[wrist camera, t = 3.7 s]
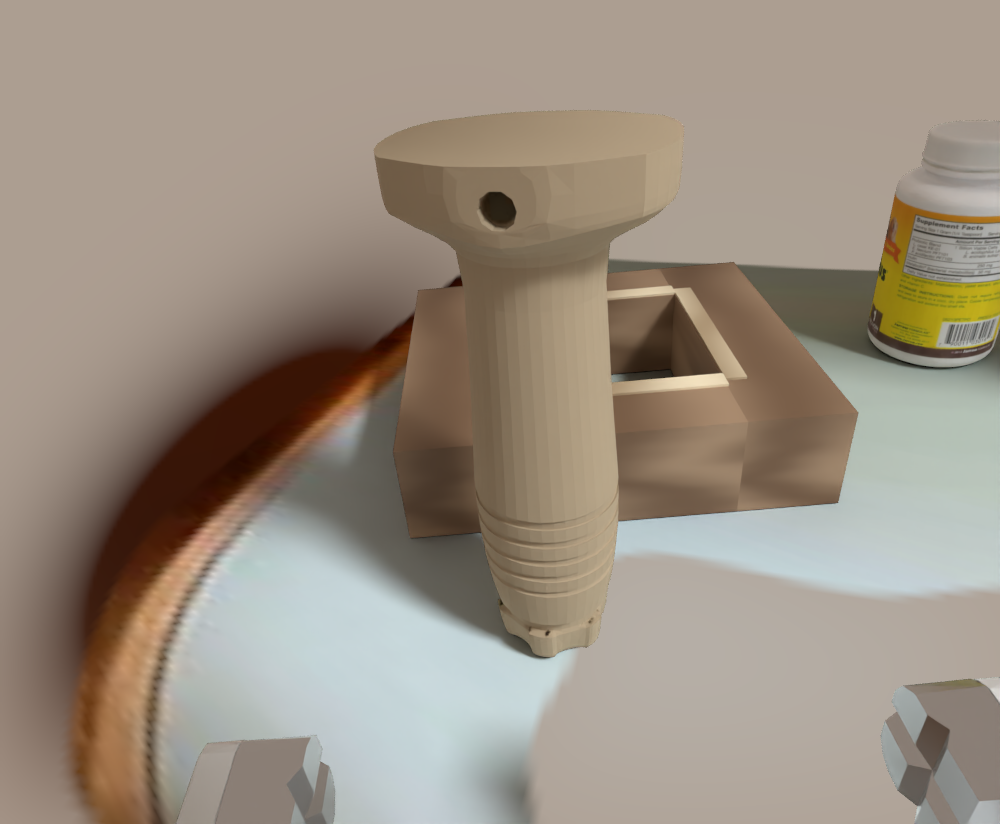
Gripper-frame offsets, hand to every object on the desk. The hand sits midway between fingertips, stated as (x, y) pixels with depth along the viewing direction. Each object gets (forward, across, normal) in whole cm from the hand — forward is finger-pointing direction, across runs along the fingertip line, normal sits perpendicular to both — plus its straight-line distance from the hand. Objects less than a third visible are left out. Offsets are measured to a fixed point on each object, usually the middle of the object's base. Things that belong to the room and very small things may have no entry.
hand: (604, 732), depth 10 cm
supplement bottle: (+25, -20, +9) cm, 33 cm away
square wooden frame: (+21, -3, +9) cm, 23 cm away
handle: (+10, 0, +9) cm, 13 cm away
